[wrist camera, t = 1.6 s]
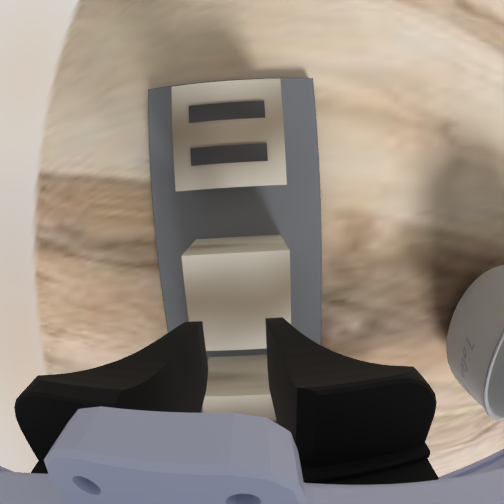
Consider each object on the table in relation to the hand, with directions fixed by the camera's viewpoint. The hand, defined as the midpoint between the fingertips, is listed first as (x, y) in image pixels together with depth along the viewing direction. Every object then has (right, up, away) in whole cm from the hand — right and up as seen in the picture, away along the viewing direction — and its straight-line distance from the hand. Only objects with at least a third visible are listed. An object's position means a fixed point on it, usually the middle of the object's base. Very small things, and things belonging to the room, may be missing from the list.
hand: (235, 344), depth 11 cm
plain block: (0, +2, +8) cm, 9 cm away
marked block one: (0, -6, +10) cm, 12 cm away
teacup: (+21, -3, +11) cm, 24 cm away
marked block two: (-1, +10, +7) cm, 12 cm away
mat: (0, +2, +9) cm, 9 cm away
